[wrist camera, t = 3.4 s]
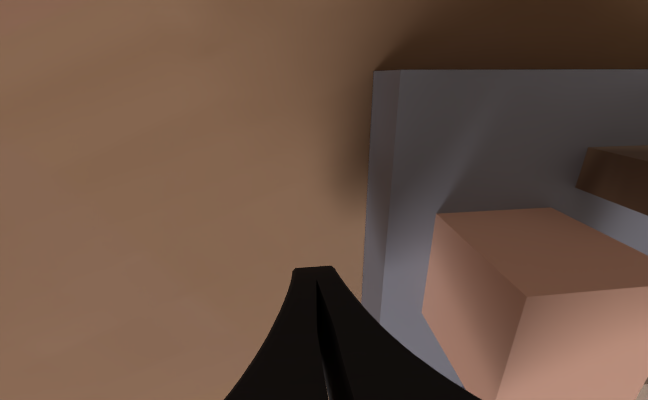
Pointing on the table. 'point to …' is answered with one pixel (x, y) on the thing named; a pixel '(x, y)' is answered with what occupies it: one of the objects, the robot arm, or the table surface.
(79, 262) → the table surface
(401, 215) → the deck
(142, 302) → the table surface
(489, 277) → the terracotta block
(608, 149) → the tunnel walls
